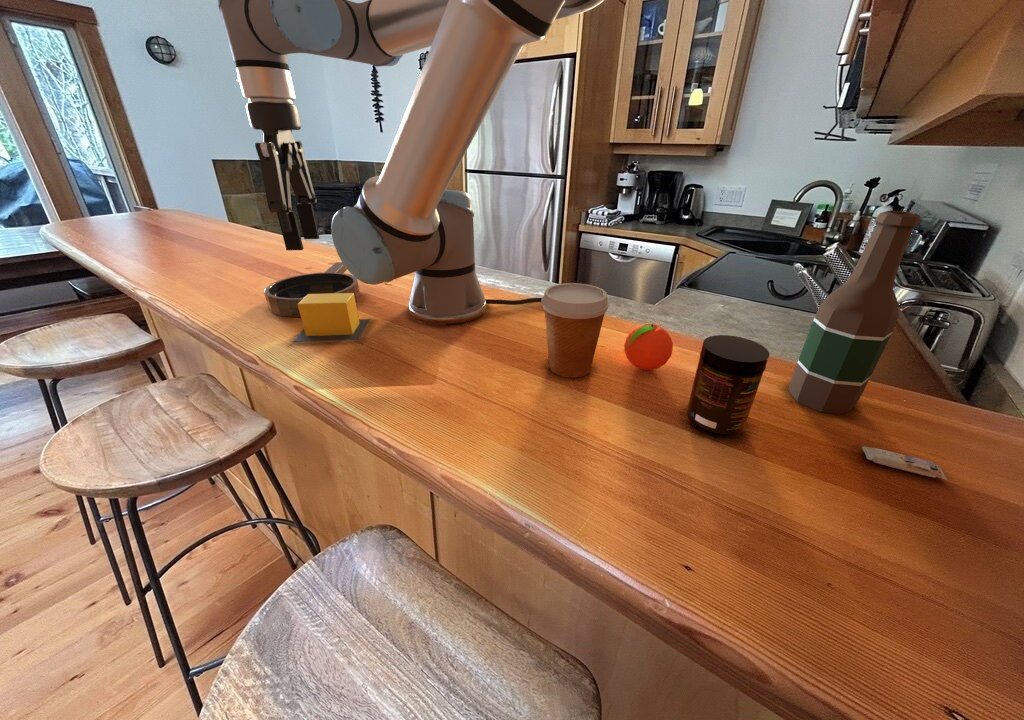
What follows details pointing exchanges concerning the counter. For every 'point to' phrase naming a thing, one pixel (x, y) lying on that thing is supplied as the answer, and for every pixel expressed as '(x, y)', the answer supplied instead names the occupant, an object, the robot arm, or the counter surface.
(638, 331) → the clementine
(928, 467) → the granola bar
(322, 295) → the sponge
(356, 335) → the mat
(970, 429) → the counter surface
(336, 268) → the pan handle
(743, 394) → the supplement container
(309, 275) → the pan
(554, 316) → the disposable coffee cup
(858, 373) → the beer bottle
